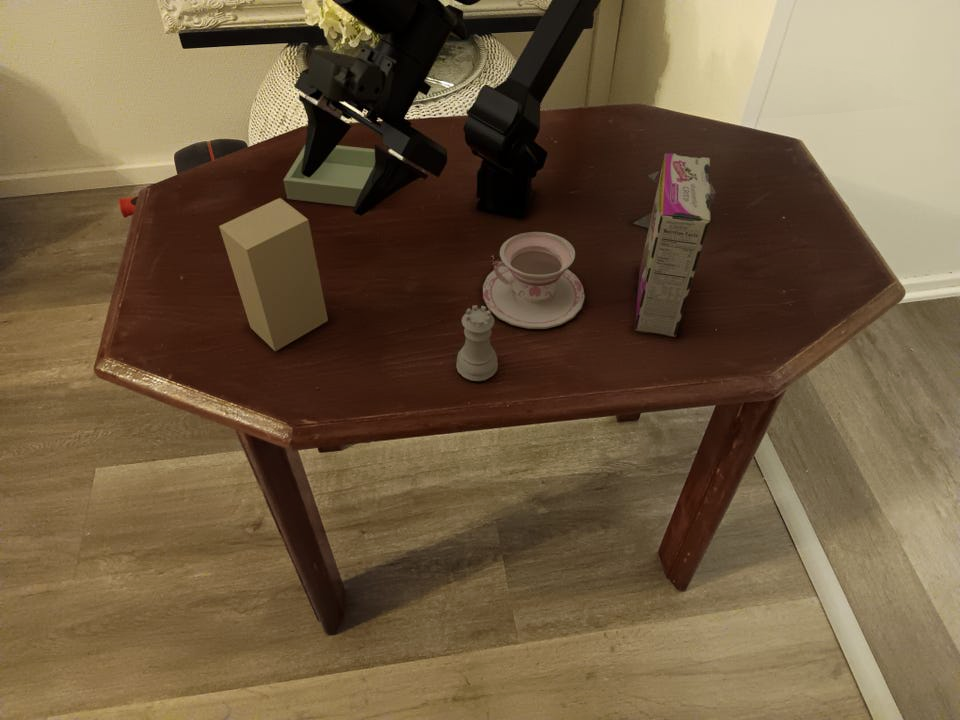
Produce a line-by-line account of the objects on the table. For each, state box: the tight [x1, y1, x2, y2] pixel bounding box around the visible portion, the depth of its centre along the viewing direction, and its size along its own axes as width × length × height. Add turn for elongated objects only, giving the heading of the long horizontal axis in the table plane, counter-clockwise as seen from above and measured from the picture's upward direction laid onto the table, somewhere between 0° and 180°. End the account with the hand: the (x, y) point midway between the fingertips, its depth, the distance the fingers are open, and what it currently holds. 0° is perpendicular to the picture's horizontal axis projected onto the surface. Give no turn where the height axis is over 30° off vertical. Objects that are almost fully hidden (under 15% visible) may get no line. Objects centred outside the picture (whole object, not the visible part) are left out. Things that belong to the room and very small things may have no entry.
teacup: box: [482, 231, 586, 330], centre depth 82 cm, size 12×12×6 cm
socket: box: [283, 144, 375, 207], centre depth 98 cm, size 12×10×3 cm
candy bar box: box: [634, 152, 711, 338], centre depth 78 cm, size 11×5×16 cm, turn 168°
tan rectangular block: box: [218, 197, 329, 352], centre depth 76 cm, size 7×5×14 cm
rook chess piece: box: [455, 304, 499, 382], centre depth 74 cm, size 4×4×8 cm
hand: (330, 194), depth 75 cm, fingers open, 9 cm apart
